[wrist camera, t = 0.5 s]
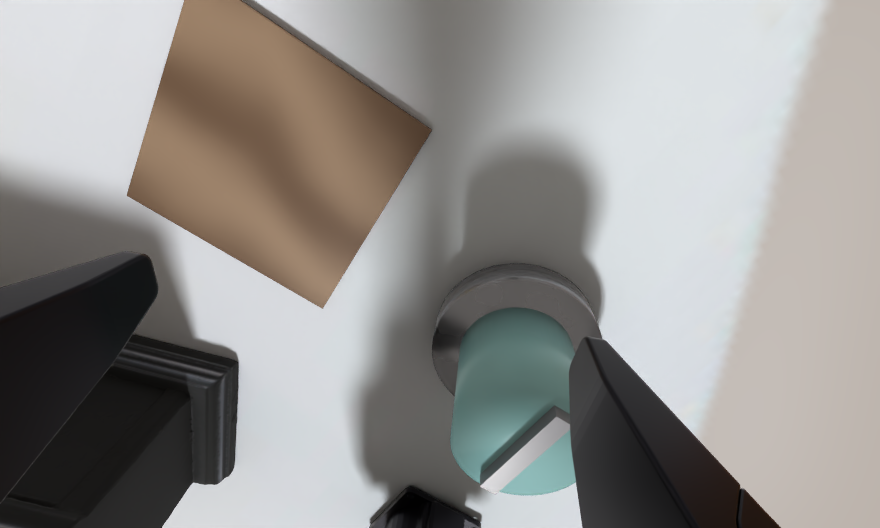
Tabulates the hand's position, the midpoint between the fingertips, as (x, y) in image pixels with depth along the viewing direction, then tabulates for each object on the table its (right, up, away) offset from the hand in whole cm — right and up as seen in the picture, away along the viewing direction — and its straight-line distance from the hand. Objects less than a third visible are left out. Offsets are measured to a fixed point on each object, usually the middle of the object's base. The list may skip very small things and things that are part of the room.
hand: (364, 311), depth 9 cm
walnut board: (-7, +6, +13) cm, 16 cm away
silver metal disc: (+6, -3, +16) cm, 17 cm away
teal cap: (+6, -4, +14) cm, 16 cm away
